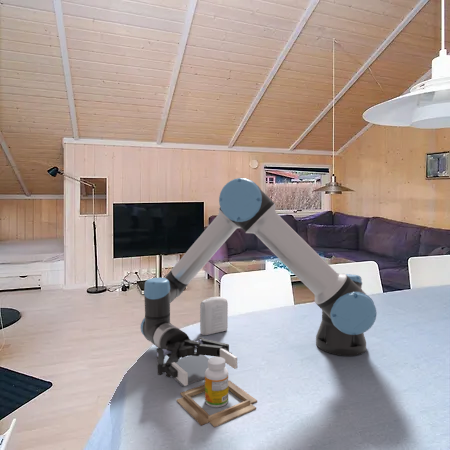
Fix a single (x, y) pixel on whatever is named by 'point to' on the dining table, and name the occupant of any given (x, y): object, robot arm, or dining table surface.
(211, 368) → the supplement bottle
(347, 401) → the dining table surface
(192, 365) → the slate mat
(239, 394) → the square tan frame
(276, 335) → the dining table surface
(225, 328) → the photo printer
